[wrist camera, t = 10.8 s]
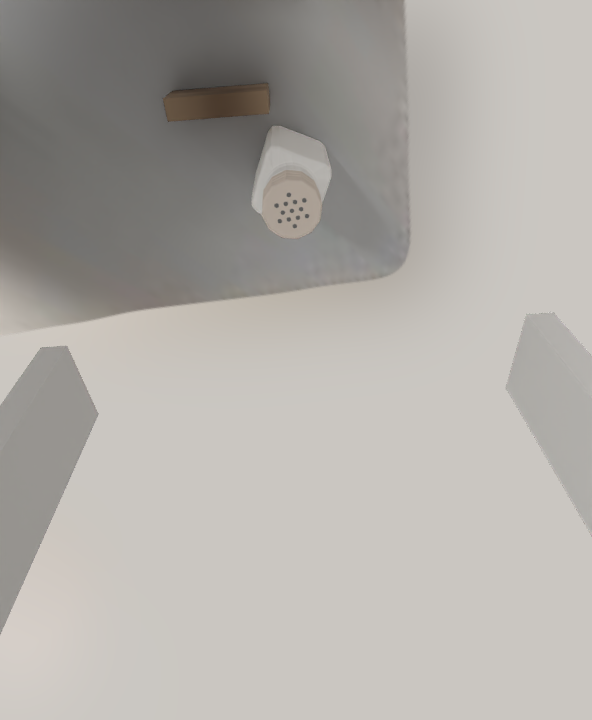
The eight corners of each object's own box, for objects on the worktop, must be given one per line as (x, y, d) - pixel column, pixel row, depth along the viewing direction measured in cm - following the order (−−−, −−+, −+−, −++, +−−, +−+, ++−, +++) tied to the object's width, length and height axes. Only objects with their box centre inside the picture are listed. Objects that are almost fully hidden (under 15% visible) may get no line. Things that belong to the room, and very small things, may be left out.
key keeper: (177, 112, 30) (167, 121, 27) (139, -76, 24) (123, -84, 22) (270, 104, 29) (268, 113, 27) (253, -86, 24) (249, -95, 22)
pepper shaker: (327, 142, 31) (342, 186, 23) (306, 198, 33) (313, 256, 26) (270, 120, 30) (266, 159, 22) (253, 179, 32) (244, 233, 25)
